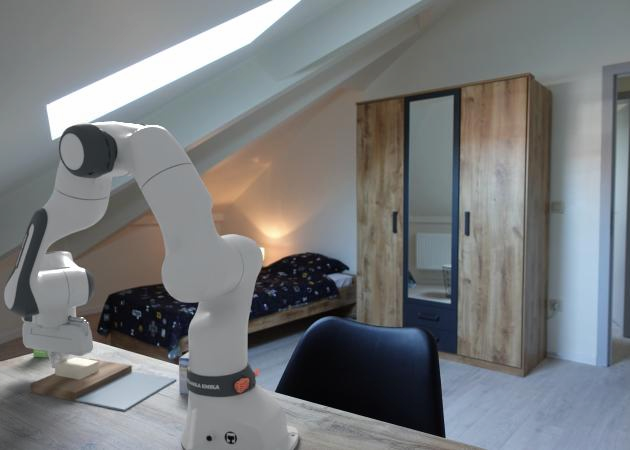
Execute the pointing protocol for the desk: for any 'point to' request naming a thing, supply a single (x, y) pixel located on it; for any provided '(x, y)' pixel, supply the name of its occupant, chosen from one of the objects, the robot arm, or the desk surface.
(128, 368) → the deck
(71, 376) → the tile
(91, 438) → the desk surface
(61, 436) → the desk surface
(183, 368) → the medicine box
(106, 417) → the desk surface
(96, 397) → the mat
